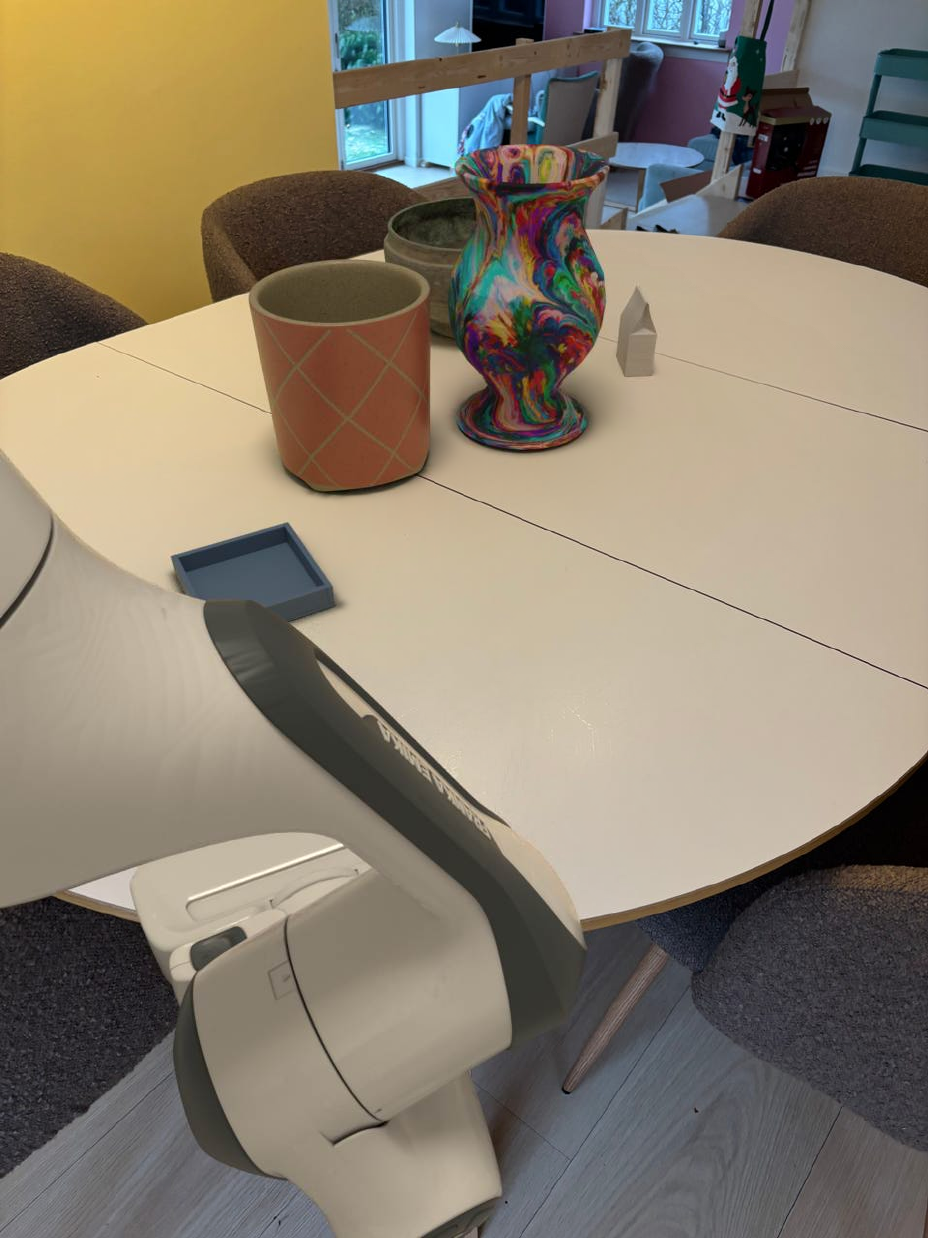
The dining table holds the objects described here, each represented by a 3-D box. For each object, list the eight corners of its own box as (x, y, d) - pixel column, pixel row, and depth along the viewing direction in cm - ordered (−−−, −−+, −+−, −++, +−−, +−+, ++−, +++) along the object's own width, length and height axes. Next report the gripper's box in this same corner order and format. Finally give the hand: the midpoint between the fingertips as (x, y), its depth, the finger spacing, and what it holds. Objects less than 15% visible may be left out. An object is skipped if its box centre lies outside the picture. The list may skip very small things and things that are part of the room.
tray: (210, 647, 81) (205, 627, 80) (175, 575, 89) (170, 555, 88) (335, 606, 86) (332, 585, 84) (291, 541, 94) (288, 521, 92)
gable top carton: (624, 376, 123) (633, 304, 116) (616, 355, 128) (623, 285, 122) (651, 375, 123) (661, 303, 116) (641, 354, 128) (650, 284, 122)
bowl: (385, 286, 149) (378, 190, 140) (539, 279, 151) (543, 184, 141) (392, 370, 125) (385, 260, 115) (576, 361, 127) (585, 252, 117)
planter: (458, 479, 103) (455, 308, 90) (294, 513, 98) (267, 337, 85) (407, 407, 116) (399, 250, 103) (262, 433, 111) (234, 271, 98)
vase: (584, 464, 105) (610, 191, 86) (434, 447, 108) (425, 181, 89) (601, 394, 119) (626, 145, 99) (467, 381, 122) (466, 137, 102)
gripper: (498, 855, 53) (413, 701, 62) (141, 989, 46) (109, 795, 56) (496, 914, 57) (417, 760, 66) (168, 1044, 50) (134, 854, 60)
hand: (274, 777), depth 61 cm, fingers closed on beer can, 5 cm apart
